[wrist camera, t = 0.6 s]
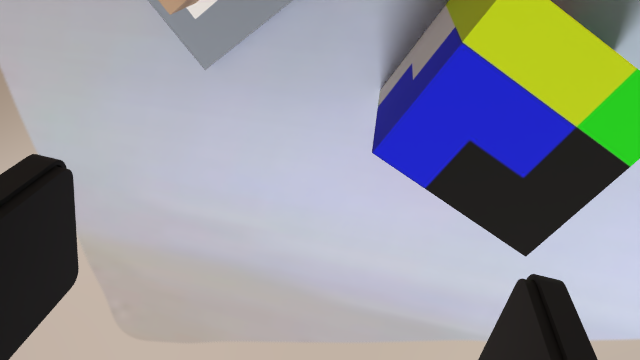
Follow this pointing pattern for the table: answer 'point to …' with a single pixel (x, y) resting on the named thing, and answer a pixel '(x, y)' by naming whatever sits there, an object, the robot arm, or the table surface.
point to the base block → (176, 5)
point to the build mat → (217, 24)
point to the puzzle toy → (511, 116)
